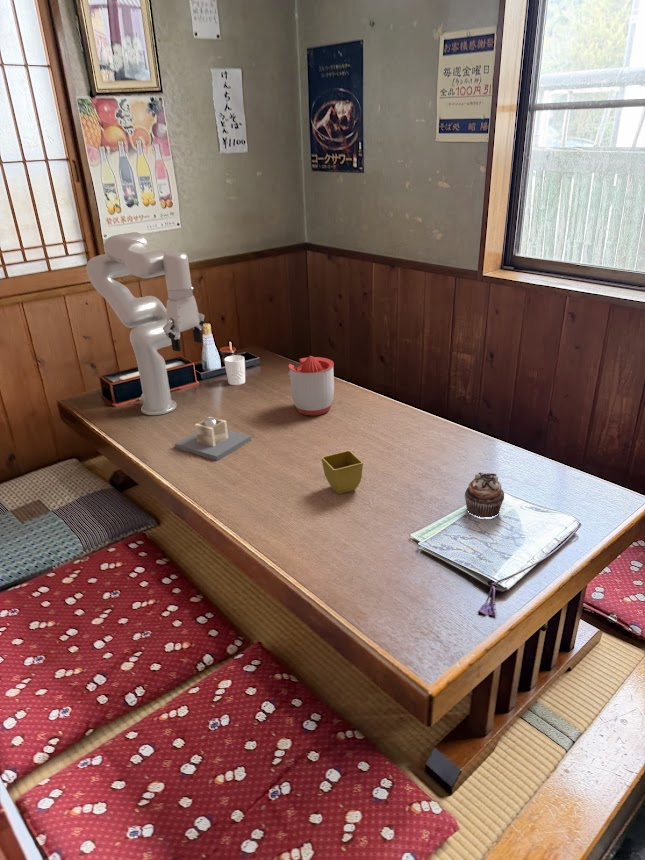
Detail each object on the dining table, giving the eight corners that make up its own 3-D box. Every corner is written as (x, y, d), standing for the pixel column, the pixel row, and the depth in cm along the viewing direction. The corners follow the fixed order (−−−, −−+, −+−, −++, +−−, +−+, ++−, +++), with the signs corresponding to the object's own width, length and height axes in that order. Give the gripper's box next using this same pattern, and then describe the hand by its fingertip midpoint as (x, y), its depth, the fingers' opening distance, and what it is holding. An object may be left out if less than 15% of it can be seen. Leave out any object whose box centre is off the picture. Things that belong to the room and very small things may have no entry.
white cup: (245, 385, 249) (243, 361, 245) (225, 386, 249) (222, 362, 245) (248, 378, 256) (245, 354, 252) (228, 379, 256) (225, 355, 252)
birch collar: (197, 441, 202) (194, 424, 199) (212, 433, 207) (209, 416, 204) (213, 446, 198) (211, 429, 195) (228, 437, 203) (226, 420, 201)
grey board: (175, 447, 202) (174, 443, 201) (210, 428, 214) (209, 424, 213) (217, 460, 192) (216, 456, 192) (251, 440, 204) (250, 436, 204)
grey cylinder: (204, 440, 202) (202, 420, 199) (212, 436, 205) (209, 416, 202) (213, 443, 200) (210, 423, 197) (220, 438, 203) (218, 418, 200)
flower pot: (322, 485, 176) (320, 456, 173) (350, 477, 179) (349, 449, 176) (335, 499, 169) (333, 470, 165) (364, 492, 172) (363, 462, 168)
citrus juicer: (305, 397, 235) (302, 345, 227) (344, 406, 226) (342, 352, 217) (278, 412, 224) (274, 358, 215) (318, 422, 214) (315, 366, 206)
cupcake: (460, 501, 165) (462, 468, 161) (498, 500, 165) (501, 467, 161) (467, 522, 157) (469, 487, 152) (506, 521, 156) (510, 486, 152)
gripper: (191, 286, 205) (198, 337, 212) (150, 298, 192) (159, 352, 200) (208, 288, 201) (214, 340, 209) (168, 301, 188) (176, 355, 196)
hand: (187, 346), depth 204 cm, fingers open, 9 cm apart
